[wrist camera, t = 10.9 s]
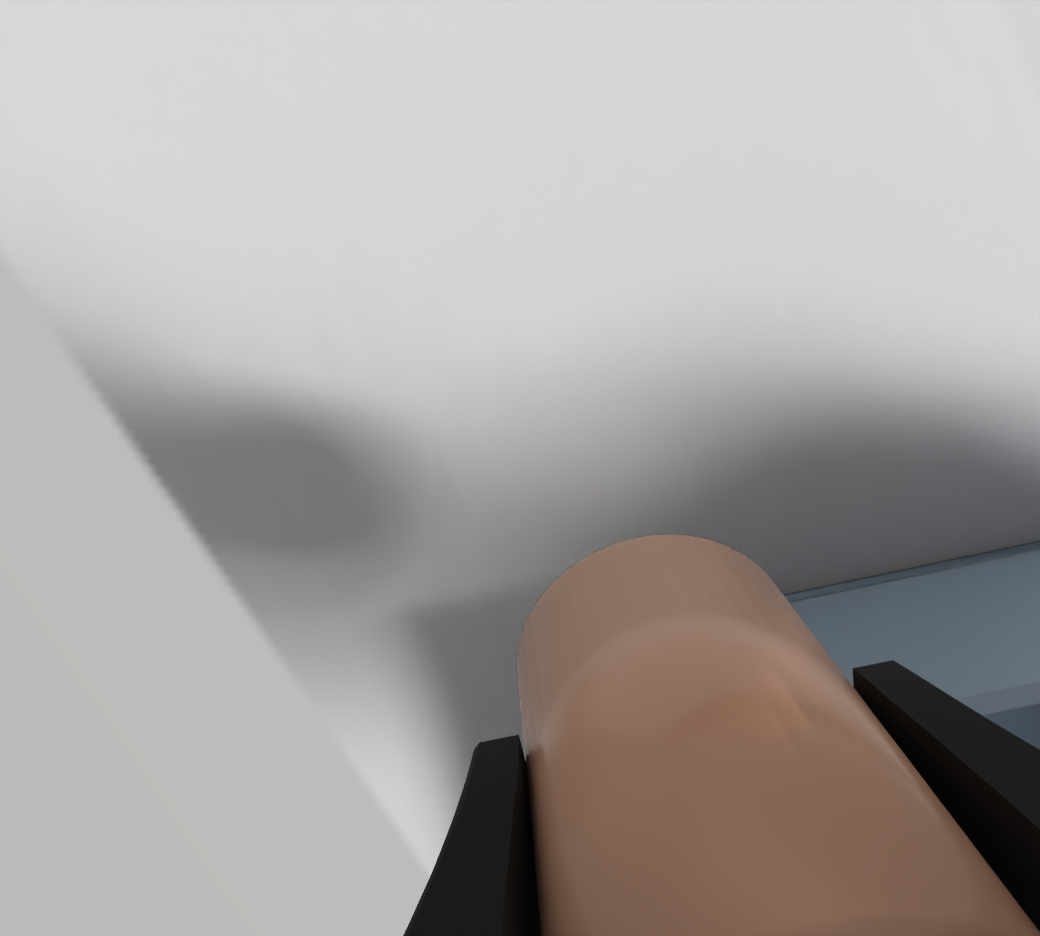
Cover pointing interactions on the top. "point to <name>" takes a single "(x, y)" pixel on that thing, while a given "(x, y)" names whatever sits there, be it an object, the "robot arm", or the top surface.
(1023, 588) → the tote
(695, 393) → the top surface
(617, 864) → the terracotta cylinder
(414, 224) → the top surface
